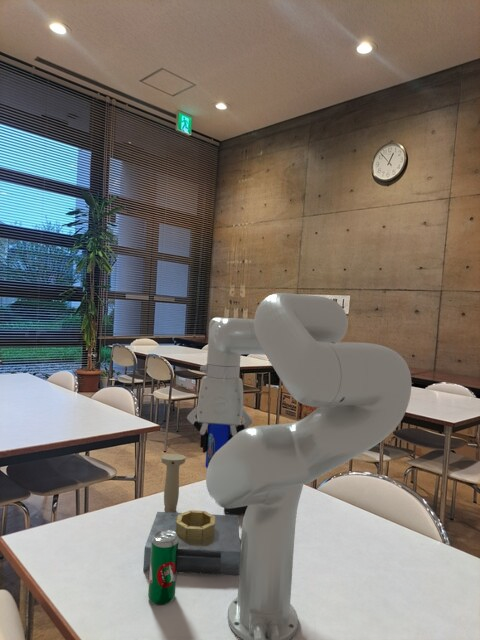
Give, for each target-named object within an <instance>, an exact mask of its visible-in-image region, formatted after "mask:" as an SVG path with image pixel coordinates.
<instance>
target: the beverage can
mask: <svg viewBox="0 0 480 640" xmlns="http://www.w3.org/2000/svg"><path fill="white" fill-rule="evenodd" d="M207 432H208V435H207V449H206V452H205V466H204V467H205V468H206V469H207V468H208V465H209V463H210V460H211V458H212V457H213V455H214V454H215V453H216V452H217V451H218V450H219V449H220V448H221V447H222V446H223V445H224V444H226V443H227V442H228V441H229V439H230V434H231V428H230V425H222V424H208V426H207Z"/></svg>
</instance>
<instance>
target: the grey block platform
mask: <svg viewBox="0 0 480 640" xmlns="http://www.w3.org/2000/svg"><path fill="white" fill-rule="evenodd" d="M239 523H240V522H239V515H235V514H233V515H232V514H231V515H229V514H211V513H209V512H207V511H206V510H194V509H193V510H192V509H191V510H187V511H184V512H175V513H172V512H165V511H157V512H156V514H155V518H154V520H153V523H152V526H151V529H150V532H149V534H148V537H147V539H146V543H145V545H144V552H143V569H142V571H143V572H150V558H151V542H152V539H153V538H154V534H155V533H156V532H158V531H161V530H171V531H174V532H175V533H176V534H177V538H178V556H177V572H176V573H178V574H179V573H182V574H183V573H184V574H203V575H226V576H239V566H240V550H241V539H240V524H239Z"/></svg>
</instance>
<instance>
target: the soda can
mask: <svg viewBox="0 0 480 640" xmlns="http://www.w3.org/2000/svg"><path fill="white" fill-rule="evenodd" d="M177 556H178V538H177V534H176V533H175V532H174V531H171V530H161V531H158V532H156V533H155V534H154V538H153V539H152V542H151V558H150V571H149V573H148V574H149V575H148V578H149V579H148V593H147V594H148V596H147V597H148V599H149V601H150V602H152V604H155V605H157V606H164V605H167V604H169V603H171V602H172V601H173V600H174V598H175V596H176V583H177V573H178V572H177Z"/></svg>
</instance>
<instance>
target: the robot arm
mask: <svg viewBox="0 0 480 640" xmlns="http://www.w3.org/2000/svg"><path fill="white" fill-rule="evenodd" d="M348 326H349V319H348V316H347V313H346V311H345V309H344V308H343V306H341V305H340V304H339V303H338V302H337V301H335V300H333V299H331V298H329V297H325V296H320V295H308V294H297V293H289V292H288V293H287V292H277V293H273V294H270V295H268V296H267V297H265V298H264V299H263V300H262V301H261V302H260V303H259V304H258V306H257V308H256V310H255V314H254V318H240V317H239V318H238V317H237V318H235V317H217V316H216V317H213V318H212V319H210V322H209V326H208V340H207V353H206V354H207V357H206V364H204V365H200V368H199V372H201V373H204V374H205V376H203V377H202V378H201V382H200V386H199V392H198V401H197V405H196V406H195V408H193V409H192V411H190V413H189V414H188V415H187V416H186V419H187V420H188V422H190V423H191V424H192V425H193V427H195V429H196V430H197V431H198V432H199V434H200V444H199V447H200V448H202V453H205V454H206V449H207V435H208V424H222V425H230V428H231V430H230V439H229V441H228V442H227V443H226V444H224V445H223V446H222V447H221V448H220V449H219V450H218V451H217V452H216V453H215V454H214V455H213V457H212V458H211V460H210V463H209V465H208V468H206V475H205V481H206V482H205V483H206V489H207V492H208V495H209V496H210V498H211V500H212V501H213V502H214V503H215V504H217V506H219V507H221V508H223V509H224V508H237V507H243V506H248V507H247V509H246V512H245V514H243V518H242V525H241V535H240V536H241V539H240V561H239V575H238V583H237V584H238V585H237V597H235V598H234V599H233V600H232V601H231V603H230V605H229V606H228V610H227V622H228V624H229V627H230V629H231V630H232V632H233V633H234V634H236V635H237V637H239V638H240V639H242V640H291V639H292V638H293V637H294V636H295V634H296V632H297V629H298V625H299V616H298V614H297V611H296V609H295V608H294V606H293V605H292V604H291V597H292V585H293V584H292V581H293V580H292V578H293V577H292V576H293V568H294V567H293V564H294V551H295V550H294V549H295V540H296V539H295V537H296V523H297V514H298V508H299V502H300V499H301V495H302V492H303V487H304V485H306V484H310V483H312V482H313V481H316V480H317V479H319V478H321V477H322V476H324V475H326V474H328V473H329V472H331V471H333V470H335V469H337V468H339V467H341V466H342V465H344V464H346V463H347V462H349V461H351V460H353V459H355V458H357V457H358V456H360V455H362V454H364V453H366V452H368V451H369V450H371V449H373V448H374V447H376V446H377V445H378V444H379V443H381V442H383V441H384V440H385V439H386V438H388V436H389V435H391V434H392V433H393V432H394V431H395V429H396V428H397V427H399V425H400V423H401V421H402V420H403V419H404V416H405V413H407V409H408V407H409V403H410V399H411V395H412V375H411V370H410V368H409V366H408V364H407V362H406V360H405V359H404V358H403V356H401V355H400V354H399V352H397V351H396V350H393V349H391V348H390V347H387V346H384V345H381V344H376V343H372V342H371V343H370V342H355V341H354V342H353V341H352V342H351V341H342V340H343V339H344V338H345V335H346V333H347V331H348V329H349V327H348ZM241 355H258V356H259V355H260V356H261V355H262V356H263V355H264V356H266V359H268V361H269V363H270V364H271V366H272V368H273V369H274V371H275V372H276V375H277V376H278V378H279V379H280V381H281V383H282V384H283V386H284V387H285V390H286V391H287V392H288V393H289V394H290V396H291V397H292V398H293V399H294V400H295V401H297V402H298V403H300V404H302V405H304V406H307V407H313V408H316V409H315V410H313V411H312V412H311V413H310V414H308V415H306V416H305V417H304V418H302V419H300V420H298V421H296V422H290V423H289V422H288V423H279V424H278V423H277V424H276V423H275V424H265V425H255V426H250V425H252V424H253V419H252V418H251V416H250V414H248V412H247V411H246V410H245V408H244V384H243V380H242V378H240V370H241V369H240V368H241V367H240V366H241V357H242V356H241ZM243 420H244V421H243ZM249 426H250V427H249Z"/></svg>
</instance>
